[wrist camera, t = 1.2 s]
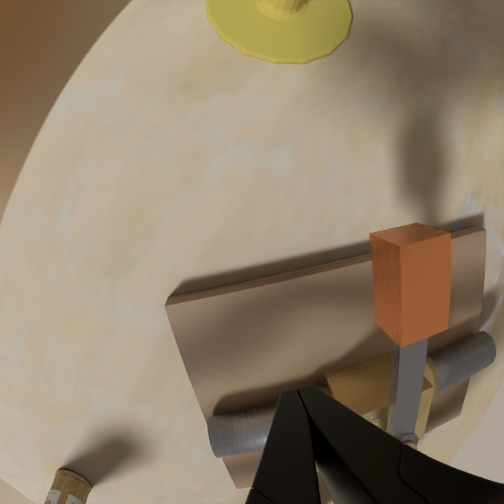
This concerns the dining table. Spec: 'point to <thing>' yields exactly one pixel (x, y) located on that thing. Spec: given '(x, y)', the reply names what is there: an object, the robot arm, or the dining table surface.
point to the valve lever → (410, 311)
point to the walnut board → (307, 334)
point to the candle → (281, 27)
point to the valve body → (360, 393)
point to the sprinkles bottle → (68, 489)
